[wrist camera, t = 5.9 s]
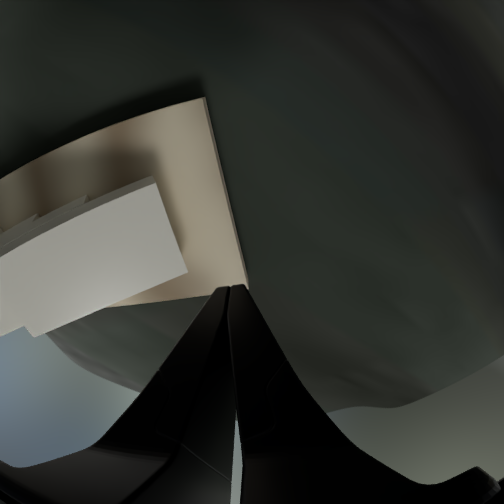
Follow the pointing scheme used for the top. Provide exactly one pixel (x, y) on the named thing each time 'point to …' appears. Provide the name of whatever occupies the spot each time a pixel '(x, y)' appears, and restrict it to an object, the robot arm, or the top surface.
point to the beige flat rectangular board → (134, 169)
